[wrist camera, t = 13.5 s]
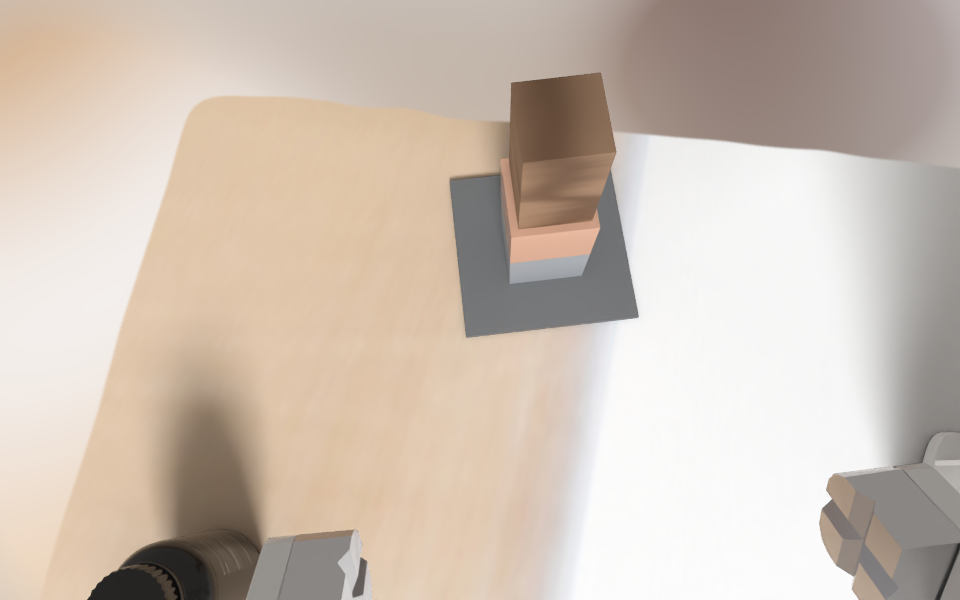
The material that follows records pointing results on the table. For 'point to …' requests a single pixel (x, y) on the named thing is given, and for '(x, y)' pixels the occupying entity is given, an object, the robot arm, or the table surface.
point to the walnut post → (559, 149)
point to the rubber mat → (535, 302)
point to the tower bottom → (542, 265)
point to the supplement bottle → (185, 570)
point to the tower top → (543, 231)
